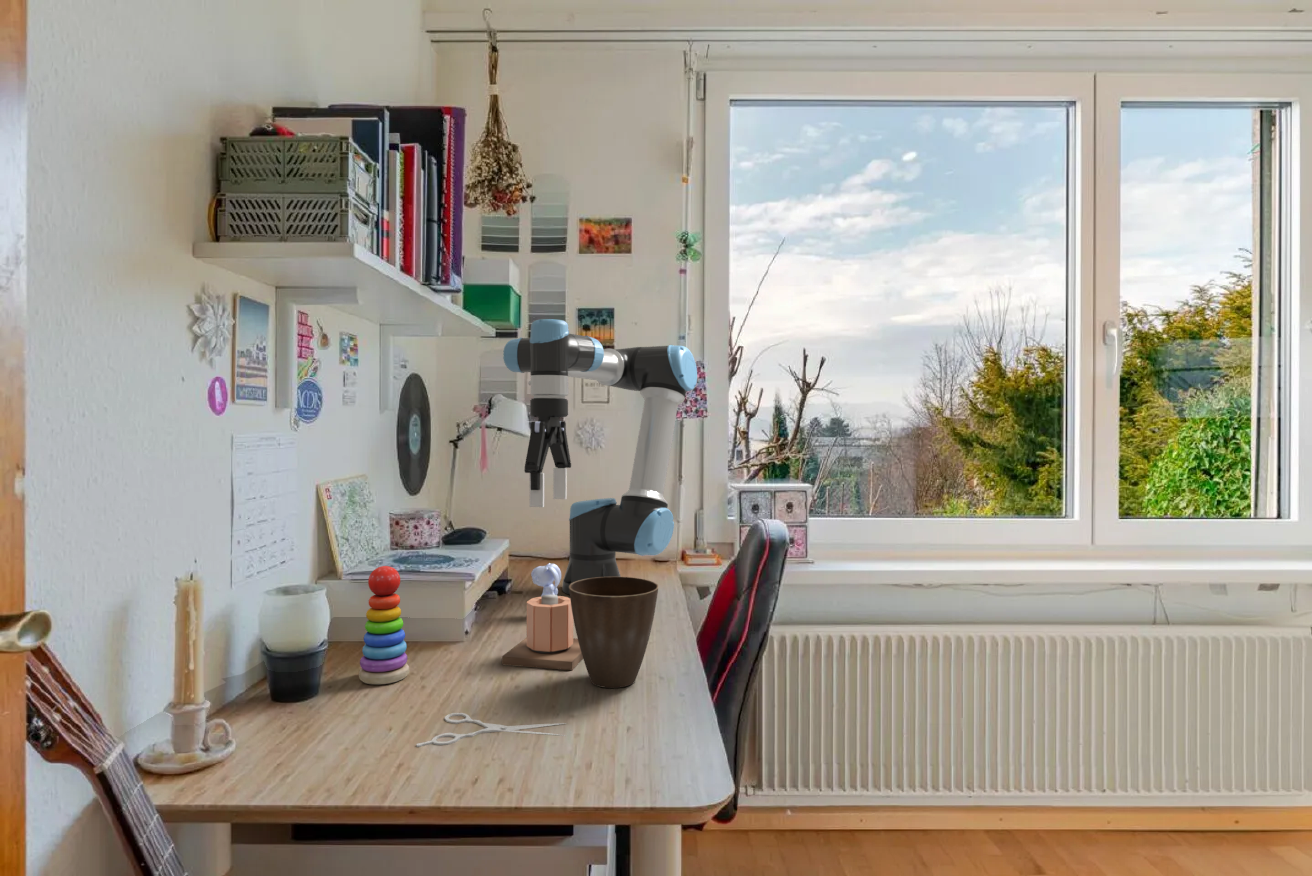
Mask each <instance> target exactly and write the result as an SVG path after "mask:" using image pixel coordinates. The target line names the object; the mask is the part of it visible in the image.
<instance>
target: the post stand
mask: <svg viewBox="0 0 1312 876" xmlns="http://www.w3.org/2000/svg"><path fill="white" fill-rule="evenodd" d="M558 596H559V595H558V594H557V595H552V594H550V595H543V596H542V597H541V596H540V597H541V604H544V605H554V604H558ZM582 661H583V656H582V653H581V649H580V646H579V642H578V638H576V637H575V638H574V637H573V644H572V645H571V646H570V647H569V648H567V649H563V650H558V651H553V652H552V651H550V652H548V651H535V650H532V649H531V648H529V647H528V646H527V636H526V637H525V638H523V639H522V640H521V641H519V643H517V644H516V645H515V646H513V648H511V649H509V650H508V651H507V652H506V653H504V654H503V655H502V656H501V664H502V665H503V666H511V667H512V666H514V667H515V666H516V667H528V668H539V669H549V670H552V669H553V670H564V671H573V670H574V669H576V667H577V666H578V665H579V664H580V662H582Z"/></svg>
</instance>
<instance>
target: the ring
mask: <svg viewBox="0 0 1312 876" xmlns="http://www.w3.org/2000/svg"><path fill="white" fill-rule="evenodd" d="M557 596H558V604H554V605H544V604H541V596H537V597H532V598H530V599H529V600H527V601H526V637H527V646H528V647H529V648H531V649H532V650H535V651H548V652H550V651H552V652H553V651H558V650H563V649H567V648H569V647H570V646H571V645H572V644H573V638H574V619H573V614H572V607H571V600H570V597H568V596H563V595H562V596H561V595H557Z"/></svg>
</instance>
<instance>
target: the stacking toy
mask: <svg viewBox="0 0 1312 876" xmlns="http://www.w3.org/2000/svg"><path fill="white" fill-rule="evenodd" d="M367 582H368V584H367V585H368V587H369V590H370V591H371V592H372V593H373V595H371V596H370V597H369V599H368V606H369V607H370V608H369V609H367V611H366V612H365V616H366V619H367V621H366V622H365V625H364V628H365V630H366V633H364V636H363V643H364V646H362V655H363V656H361V658H360V660H359V667H360V670H359V672H358V678H359V680H360V681H361V682H363V683H364V684H367V685H386V684H387V685H388V684H392V683H397V682H399V681H401V680H403V679H405V678H406V677H408V675H409V674H410V666H409V664H408V663H407V662H408V655H407V654H406V651H407V647H408V646H407V645H408V644H407V642H406V641H405V638H406V633H405V630H404V629H402V628H403V627H404V621H403V618H402V617H401V615H402V609H401V607H399V605H400V603H401V597H400V595H399V594H397V593H395V592H396V591H398V588H399V587H400V584H401V576H400V573H399V571H397V569H396V568H394V567H393V566H388V565H382V566H379V567H377V568H375V569H373V570H372V572H371V573H370V574H369V576H368V581H367Z"/></svg>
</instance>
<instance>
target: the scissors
mask: <svg viewBox="0 0 1312 876" xmlns="http://www.w3.org/2000/svg"><path fill="white" fill-rule="evenodd" d="M456 716H458V717H464V718H463V719H451V717H456ZM444 721H445V722H447V723H449V724H455V725H457V724H462V723H463V724H464V723H472V724H476V725H479V726H482V727H484V728H483V729H479V730H477V731H474V732H473V731H472V732H469V733H453V732H445V733H440V734H437V735H435V736H434V737H433V738H432V739H431V740H427V741H424V742H420V743H419V742H418V743H416V748H421V747H424V746H429V745H432V744H433V745H437V746H446V745H447V746H448V745H452V744H454V743H457V742H459V741H460V740H462V739H465V738H470V737H471V738H472V737H475V736H476V735H481V734H487V733H499V732H509V733H518V734H519V733H520V734H533V735H548V736H559V733H558V734H557V733H548V732H541V731H530V730H529V731H528V730H526V729H532V728H533V729H535V728H541V727H549V726H557V725H564V724H565V725H566V724H568V722H567V723H564V722H562V723H561V722H560V723H539V724H524V725H523V724H522V725H521V724H520V725H504V724H497V723H488V722H483V721H481V719H472V718H471V717H470V715H469V714H467V713H465V712H452V713H449V714H447V715H445V716H444ZM560 736H562V737H563V736H564V737H566V735H565V734H560ZM447 737H448V738H449V737H451V738H453V739H450V740H447V741H438V739H442V738H447Z"/></svg>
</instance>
